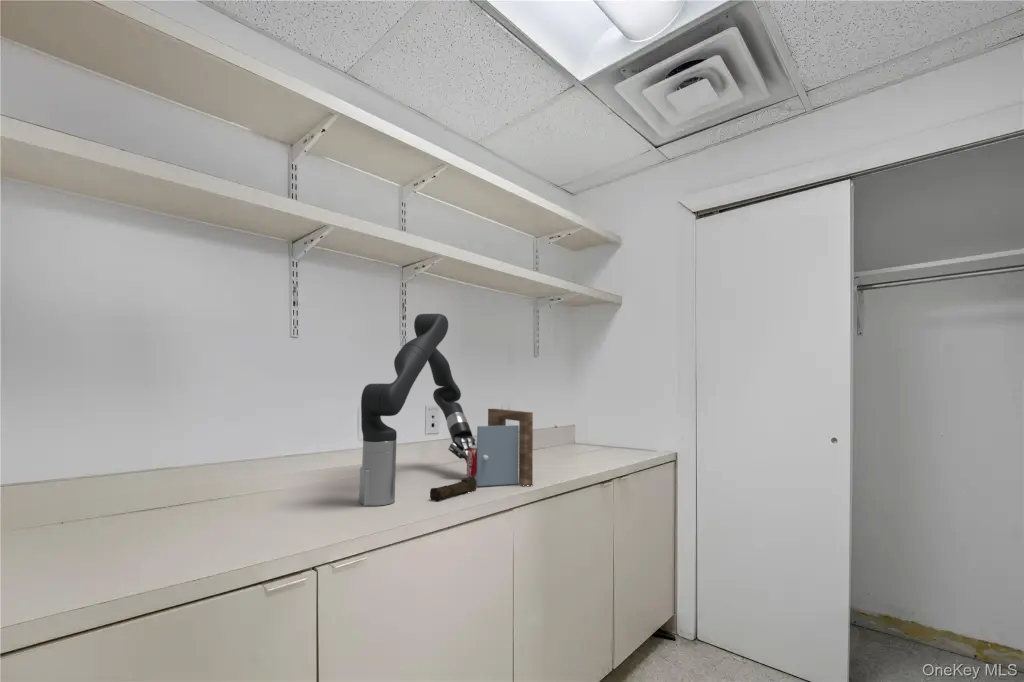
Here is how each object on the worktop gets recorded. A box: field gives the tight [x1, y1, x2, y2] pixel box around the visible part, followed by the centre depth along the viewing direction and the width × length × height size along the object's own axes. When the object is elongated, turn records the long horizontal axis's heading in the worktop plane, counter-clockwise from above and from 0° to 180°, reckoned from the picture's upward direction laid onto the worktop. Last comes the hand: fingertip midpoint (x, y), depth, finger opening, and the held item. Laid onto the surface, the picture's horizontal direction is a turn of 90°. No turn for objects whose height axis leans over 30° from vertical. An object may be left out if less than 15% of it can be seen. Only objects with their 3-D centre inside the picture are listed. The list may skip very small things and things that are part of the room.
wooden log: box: [429, 477, 477, 502], centre depth 149 cm, size 19×4×5 cm, turn 142°
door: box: [476, 424, 519, 487], centre depth 163 cm, size 14×3×19 cm, turn 109°
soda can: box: [466, 445, 477, 485], centre depth 168 cm, size 7×7×12 cm
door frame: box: [487, 408, 534, 487], centre depth 175 cm, size 3×27×24 cm, turn 29°
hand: (472, 466), depth 171 cm, fingers closed
